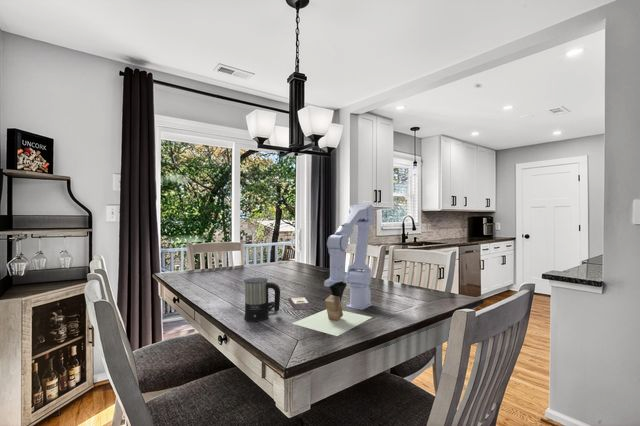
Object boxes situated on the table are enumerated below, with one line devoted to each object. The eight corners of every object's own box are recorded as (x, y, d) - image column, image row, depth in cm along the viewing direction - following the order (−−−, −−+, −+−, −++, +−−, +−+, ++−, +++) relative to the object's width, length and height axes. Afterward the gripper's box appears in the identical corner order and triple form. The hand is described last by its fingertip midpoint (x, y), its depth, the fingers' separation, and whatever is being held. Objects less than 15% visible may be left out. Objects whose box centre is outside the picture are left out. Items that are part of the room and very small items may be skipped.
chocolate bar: (295, 309, 134) (288, 298, 152) (295, 312, 134) (288, 300, 152) (316, 308, 137) (307, 297, 154) (316, 310, 137) (307, 299, 154)
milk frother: (245, 323, 120) (245, 282, 120) (240, 311, 135) (240, 275, 135) (283, 318, 125) (283, 280, 125) (274, 307, 140) (274, 272, 140)
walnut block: (334, 313, 126) (330, 294, 124) (343, 315, 124) (339, 296, 121) (328, 319, 123) (324, 300, 121) (337, 321, 121) (333, 302, 118)
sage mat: (329, 308, 137) (329, 307, 137) (372, 318, 125) (372, 317, 125) (291, 324, 118) (291, 323, 118) (337, 337, 106) (337, 336, 106)
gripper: (335, 270, 116) (335, 308, 116) (356, 265, 127) (356, 299, 127) (319, 268, 120) (319, 305, 120) (341, 263, 132) (341, 297, 132)
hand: (337, 302), depth 124 cm, fingers closed
